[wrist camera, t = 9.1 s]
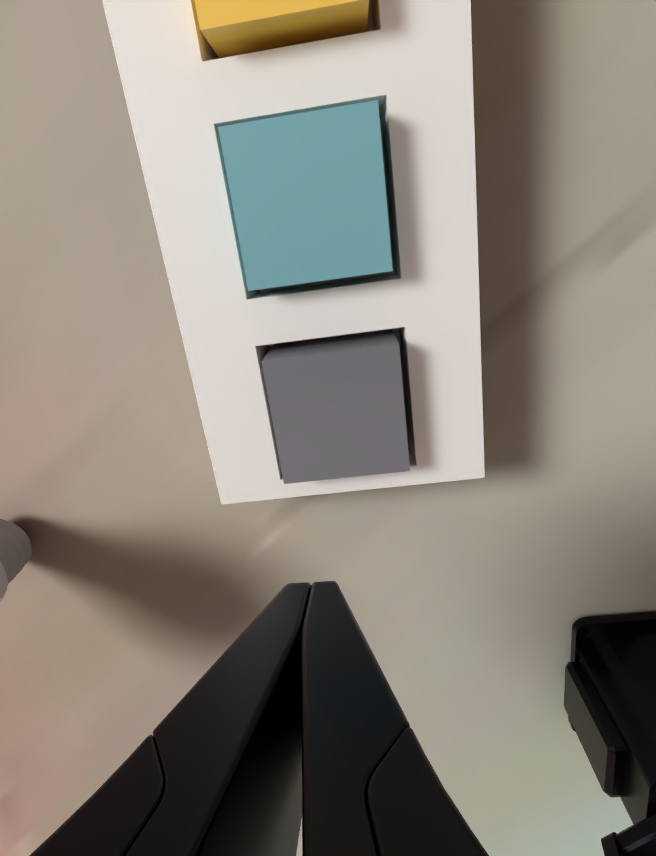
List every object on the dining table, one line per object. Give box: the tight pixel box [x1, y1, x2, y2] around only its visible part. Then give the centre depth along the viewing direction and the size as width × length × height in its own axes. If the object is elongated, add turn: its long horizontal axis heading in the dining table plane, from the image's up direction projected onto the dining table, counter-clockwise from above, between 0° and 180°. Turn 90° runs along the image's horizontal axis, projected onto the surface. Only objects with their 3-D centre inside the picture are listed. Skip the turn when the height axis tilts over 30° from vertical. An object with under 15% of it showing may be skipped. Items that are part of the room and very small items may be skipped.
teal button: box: [218, 100, 393, 291], centre depth 14 cm, size 4×4×3 cm
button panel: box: [102, 0, 485, 504], centre depth 15 cm, size 9×18×3 cm, turn 8°
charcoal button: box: [261, 329, 410, 484], centre depth 16 cm, size 4×4×3 cm
